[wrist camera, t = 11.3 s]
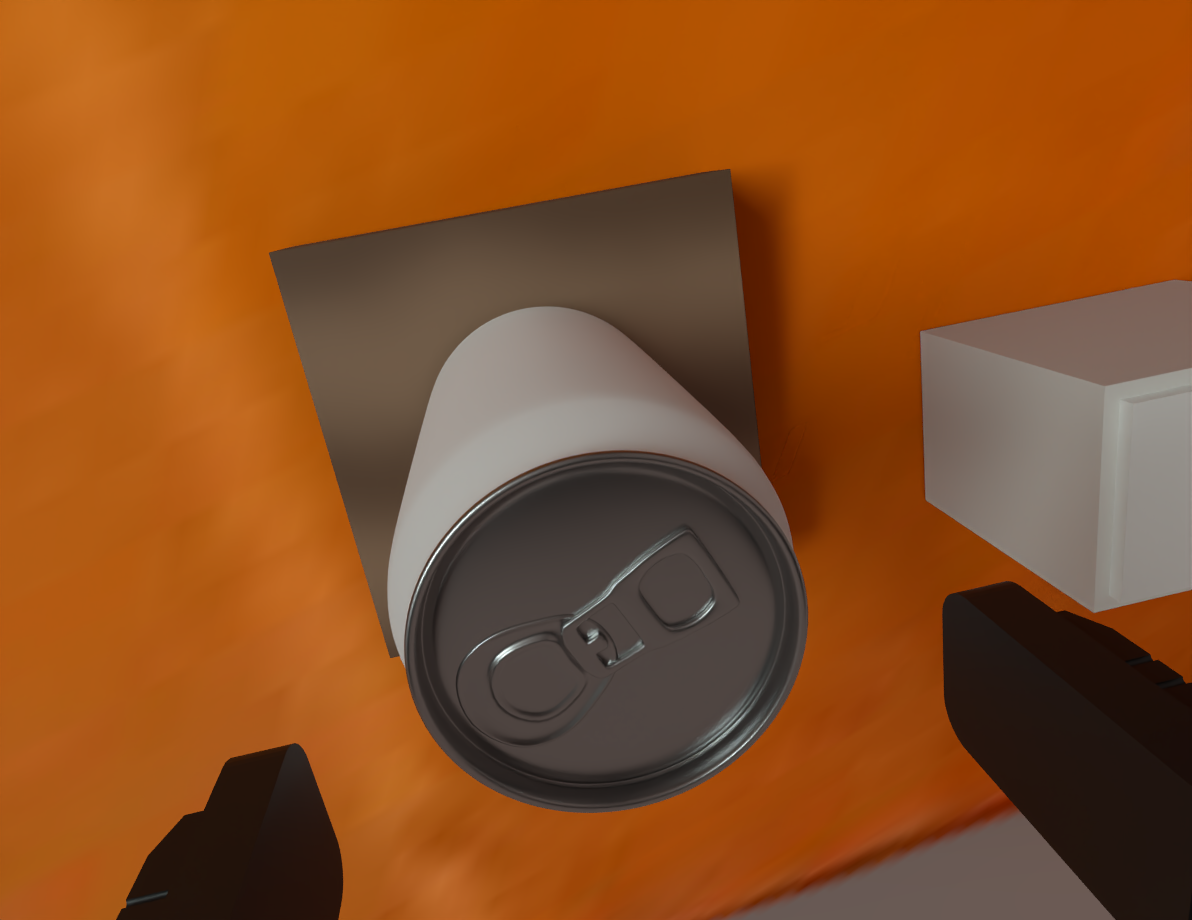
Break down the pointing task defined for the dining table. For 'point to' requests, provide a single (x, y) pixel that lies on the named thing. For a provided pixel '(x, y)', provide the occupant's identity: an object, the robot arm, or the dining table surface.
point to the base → (493, 288)
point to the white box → (1070, 439)
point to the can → (588, 572)
